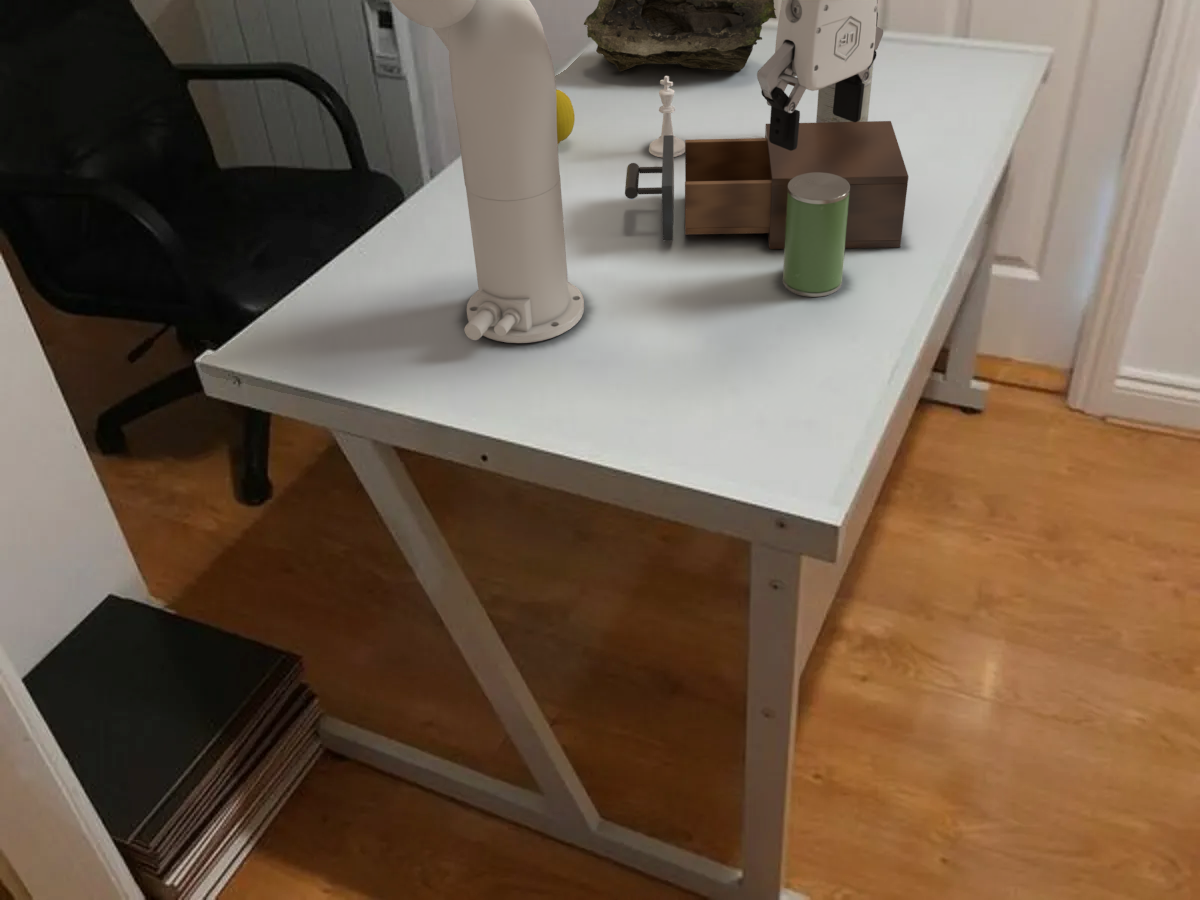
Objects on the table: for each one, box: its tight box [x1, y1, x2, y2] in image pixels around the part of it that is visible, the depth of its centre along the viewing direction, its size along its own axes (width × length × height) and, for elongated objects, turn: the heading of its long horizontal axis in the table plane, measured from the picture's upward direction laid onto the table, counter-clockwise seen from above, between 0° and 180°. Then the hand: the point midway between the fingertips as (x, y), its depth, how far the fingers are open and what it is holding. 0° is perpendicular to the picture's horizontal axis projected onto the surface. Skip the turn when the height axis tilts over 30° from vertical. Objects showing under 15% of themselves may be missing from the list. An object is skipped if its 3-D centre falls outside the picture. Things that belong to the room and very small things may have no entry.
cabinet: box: [764, 120, 909, 250], centre depth 142 cm, size 15×15×9 cm
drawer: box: [624, 135, 772, 242], centre depth 143 cm, size 18×14×7 cm
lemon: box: [556, 88, 576, 145], centre depth 162 cm, size 6×6×8 cm
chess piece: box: [648, 75, 685, 159], centre depth 159 cm, size 5×5×10 cm
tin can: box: [782, 172, 850, 298], centre depth 130 cm, size 6×6×12 cm
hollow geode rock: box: [583, 0, 778, 72], centre depth 182 cm, size 28×13×15 cm
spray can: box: [815, 0, 879, 123], centre depth 155 cm, size 7×7×20 cm
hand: (815, 131), depth 123 cm, fingers open, 9 cm apart
